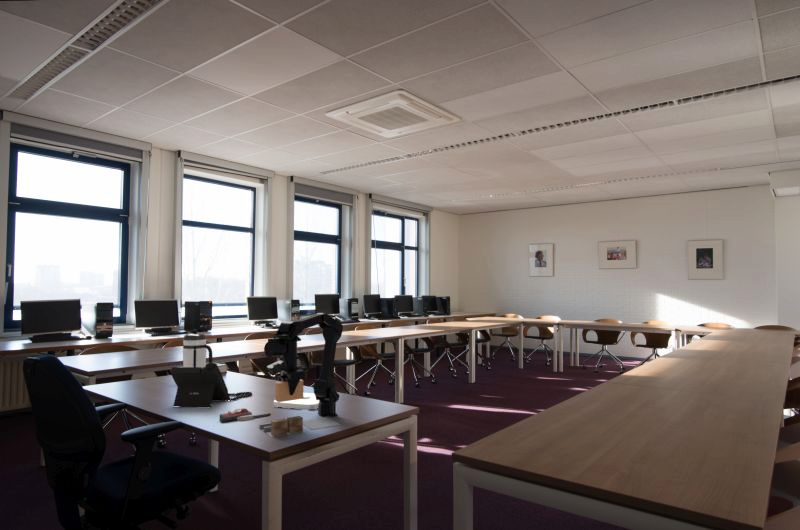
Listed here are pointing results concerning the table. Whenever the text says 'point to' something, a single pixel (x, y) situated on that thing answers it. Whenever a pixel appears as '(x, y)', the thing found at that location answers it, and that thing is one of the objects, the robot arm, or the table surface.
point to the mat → (319, 423)
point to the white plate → (300, 402)
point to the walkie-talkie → (239, 415)
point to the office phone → (201, 386)
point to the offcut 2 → (294, 424)
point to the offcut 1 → (278, 427)
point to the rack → (267, 429)
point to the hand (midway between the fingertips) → (289, 394)
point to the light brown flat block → (284, 393)
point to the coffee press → (195, 350)
